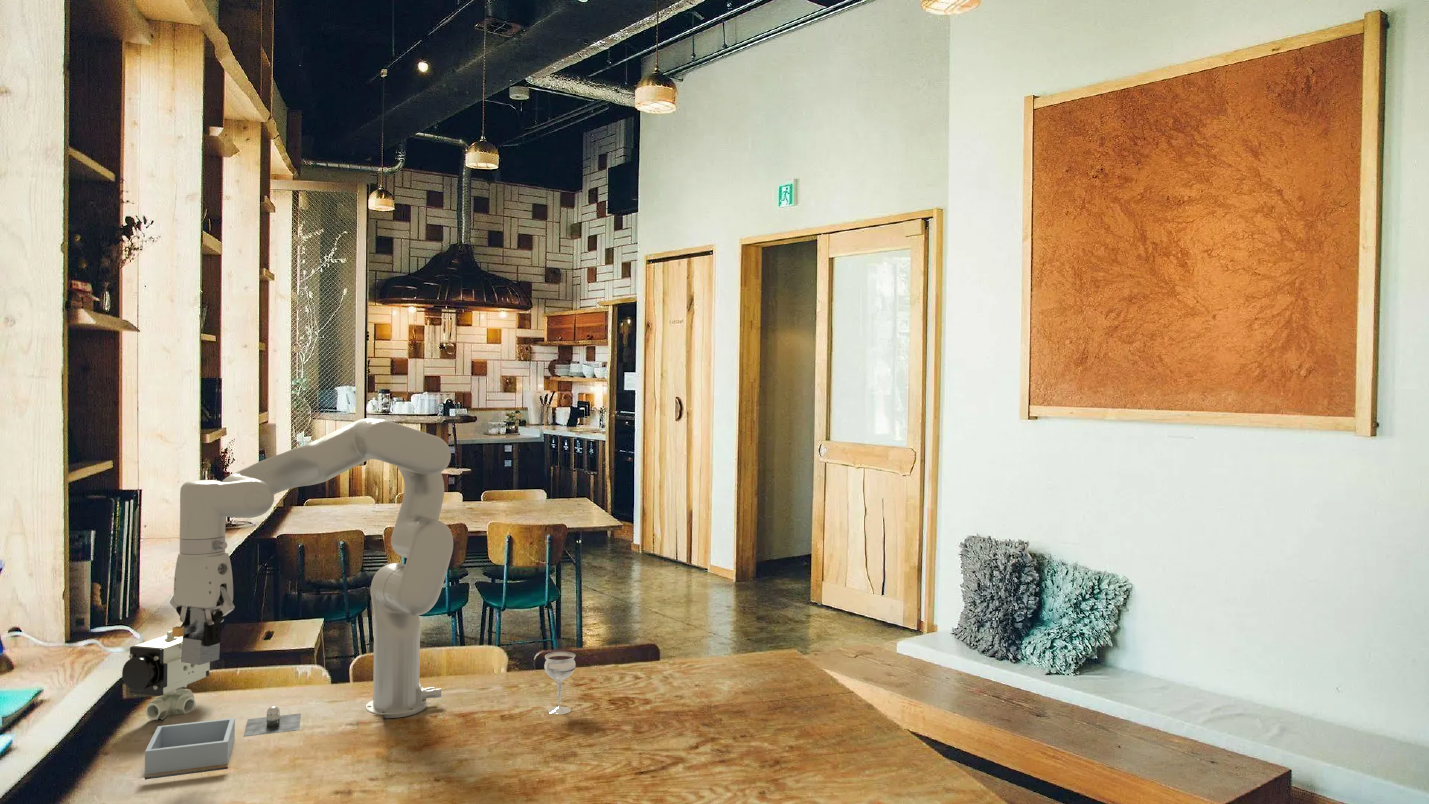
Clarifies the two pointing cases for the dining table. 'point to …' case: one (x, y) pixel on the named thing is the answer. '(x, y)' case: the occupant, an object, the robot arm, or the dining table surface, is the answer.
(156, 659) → the ball valve
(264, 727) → the stud plate
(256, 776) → the dining table surface
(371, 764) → the dining table surface
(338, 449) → the robot arm
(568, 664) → the wineglass
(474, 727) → the dining table surface
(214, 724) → the tub
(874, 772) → the dining table surface
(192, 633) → the grey upright piece
